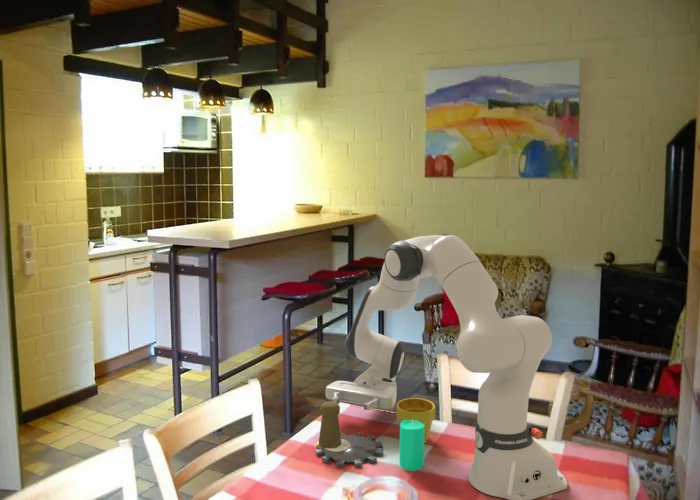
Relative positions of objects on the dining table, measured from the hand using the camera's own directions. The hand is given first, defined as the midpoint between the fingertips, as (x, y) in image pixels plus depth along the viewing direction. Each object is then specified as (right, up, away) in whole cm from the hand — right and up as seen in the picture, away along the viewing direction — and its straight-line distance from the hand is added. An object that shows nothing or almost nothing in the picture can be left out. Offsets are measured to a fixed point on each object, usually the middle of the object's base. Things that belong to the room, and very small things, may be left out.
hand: (350, 404), depth 164 cm
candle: (+15, -11, -15) cm, 24 cm away
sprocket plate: (0, -10, -8) cm, 13 cm away
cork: (-5, -9, -6) cm, 12 cm away
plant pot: (+18, -9, -1) cm, 20 cm away
